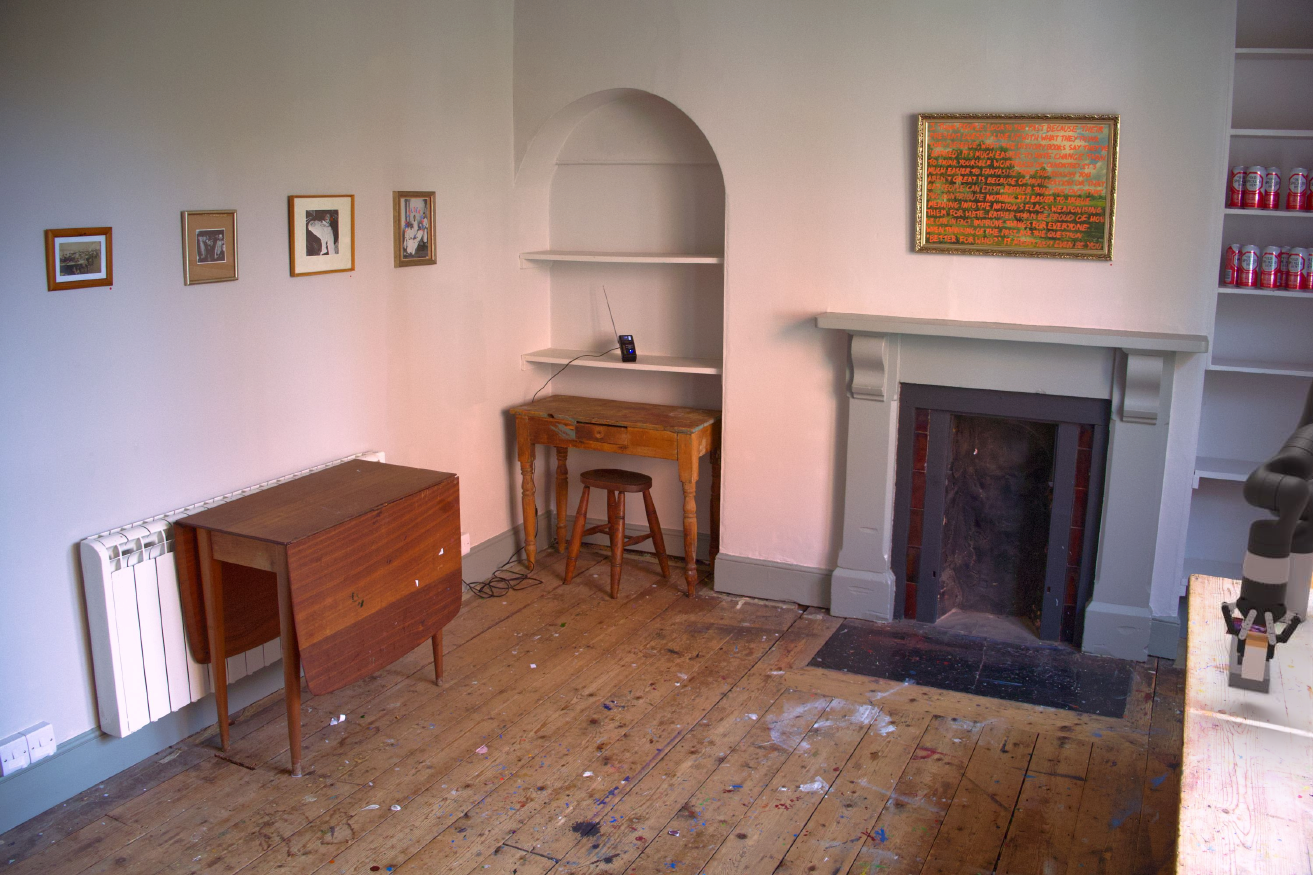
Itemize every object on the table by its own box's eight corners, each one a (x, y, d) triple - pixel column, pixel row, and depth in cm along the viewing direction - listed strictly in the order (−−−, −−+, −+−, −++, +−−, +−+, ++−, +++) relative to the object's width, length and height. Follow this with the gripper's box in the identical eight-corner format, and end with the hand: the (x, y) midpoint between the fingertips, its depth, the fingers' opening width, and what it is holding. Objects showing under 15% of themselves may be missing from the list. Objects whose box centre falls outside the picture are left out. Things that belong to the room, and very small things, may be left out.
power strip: (1230, 647, 231) (1232, 627, 230) (1266, 653, 228) (1269, 633, 226) (1227, 689, 212) (1230, 668, 211) (1267, 697, 209) (1270, 675, 208)
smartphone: (1222, 639, 234) (1231, 615, 246) (1222, 643, 234) (1231, 619, 246) (1261, 648, 229) (1269, 623, 241) (1261, 651, 230) (1269, 626, 242)
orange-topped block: (1241, 668, 206) (1246, 630, 204) (1262, 671, 204) (1267, 634, 202) (1241, 677, 202) (1246, 639, 200) (1262, 681, 201) (1267, 642, 199)
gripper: (1222, 575, 199) (1212, 657, 203) (1309, 587, 192) (1297, 673, 196) (1223, 562, 205) (1214, 643, 209) (1307, 574, 198) (1296, 657, 202)
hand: (1254, 657), depth 203 cm, fingers closed on orange-topped block, 3 cm apart
